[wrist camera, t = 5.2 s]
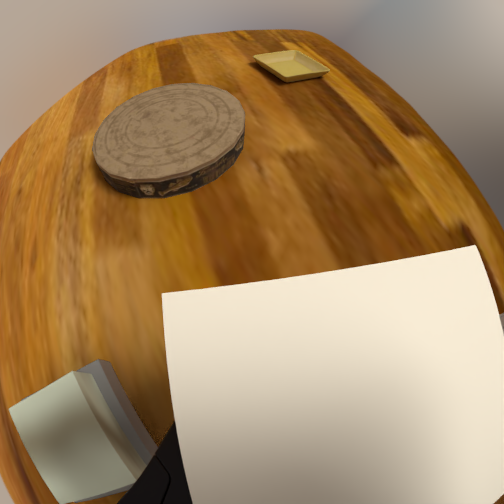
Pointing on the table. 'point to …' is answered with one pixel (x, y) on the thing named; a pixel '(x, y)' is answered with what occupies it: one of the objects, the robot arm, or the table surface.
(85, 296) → the table surface
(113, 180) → the wood slice
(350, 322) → the cream pillar
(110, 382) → the tower base slab
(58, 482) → the tower top slab
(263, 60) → the yellow flat square tray
